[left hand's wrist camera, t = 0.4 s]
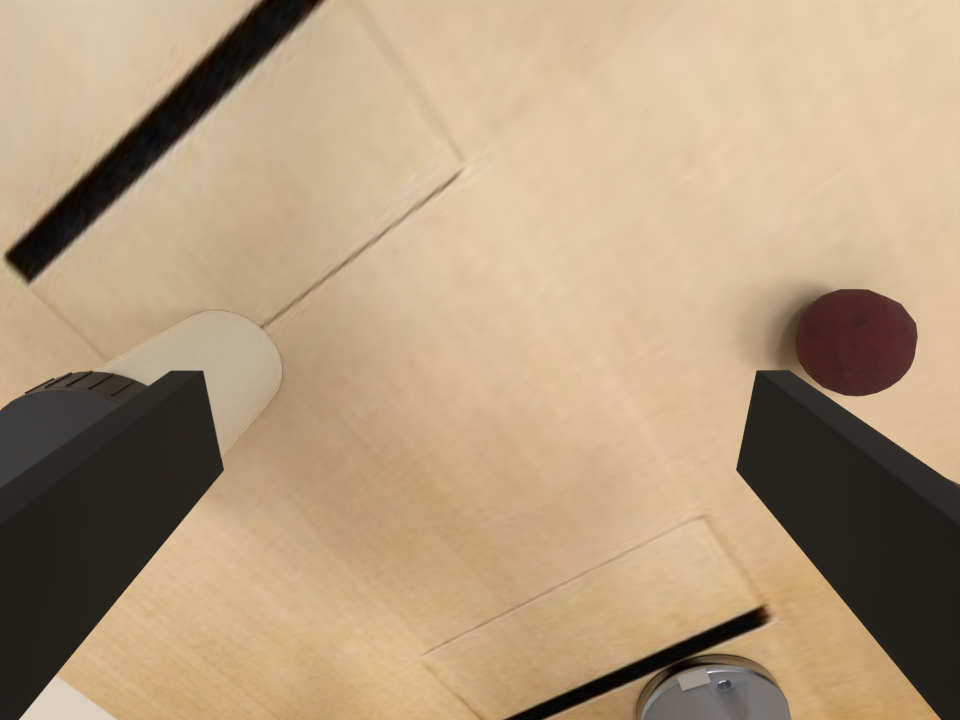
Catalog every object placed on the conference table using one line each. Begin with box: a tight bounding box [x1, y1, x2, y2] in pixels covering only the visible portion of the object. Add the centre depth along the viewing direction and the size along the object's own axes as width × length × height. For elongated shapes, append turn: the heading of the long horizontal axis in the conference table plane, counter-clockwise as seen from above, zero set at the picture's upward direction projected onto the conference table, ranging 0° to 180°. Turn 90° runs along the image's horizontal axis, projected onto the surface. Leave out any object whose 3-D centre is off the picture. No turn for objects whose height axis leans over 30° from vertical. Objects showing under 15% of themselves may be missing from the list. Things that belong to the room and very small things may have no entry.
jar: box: [92, 310, 282, 458], centre depth 35 cm, size 9×9×16 cm
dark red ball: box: [796, 289, 918, 396], centre depth 38 cm, size 7×8×7 cm
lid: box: [0, 371, 148, 487], centre depth 28 cm, size 10×10×2 cm
